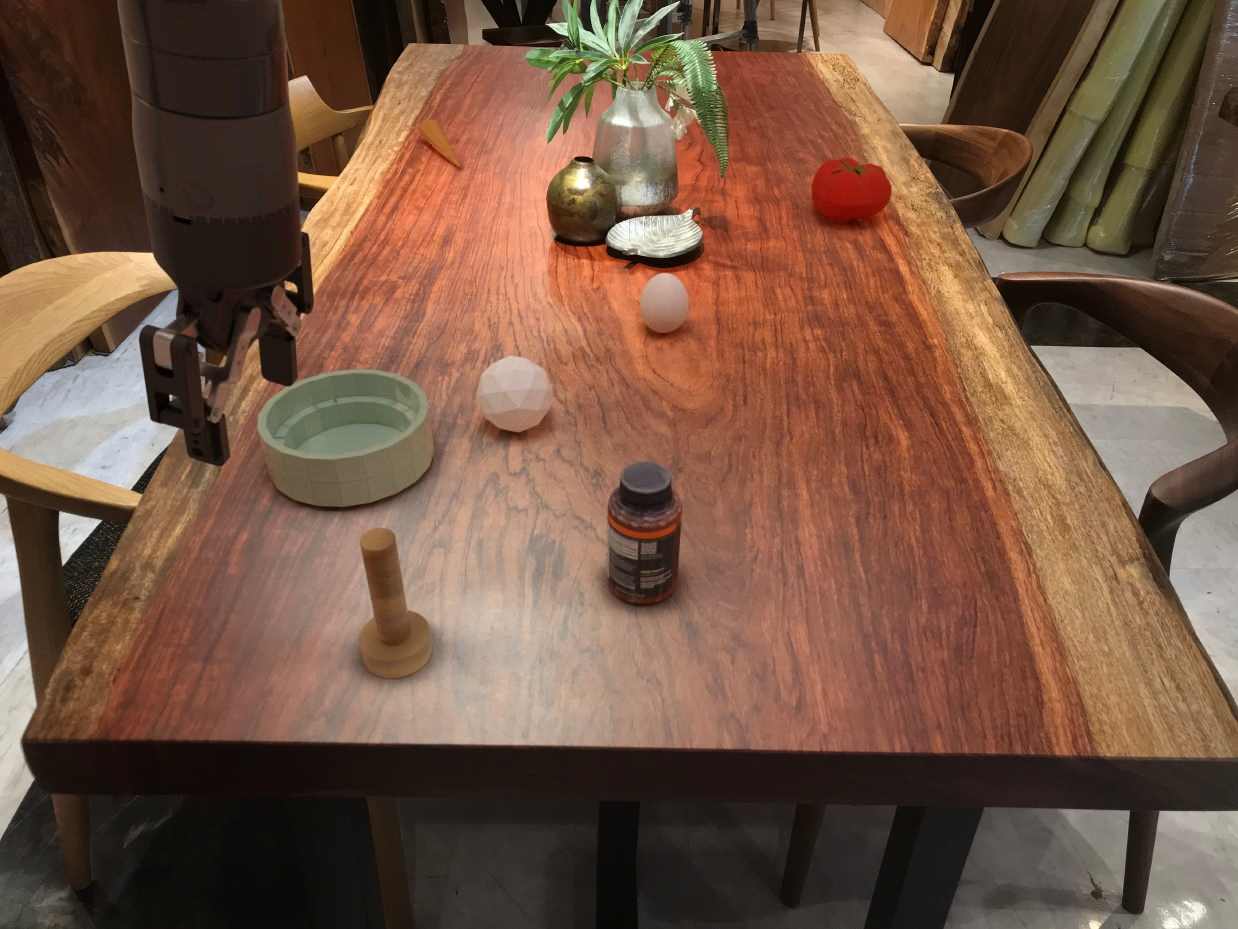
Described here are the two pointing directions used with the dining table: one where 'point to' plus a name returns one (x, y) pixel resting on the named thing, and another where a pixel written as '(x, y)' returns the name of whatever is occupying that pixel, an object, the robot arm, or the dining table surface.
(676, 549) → the supplement bottle
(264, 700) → the dining table surface
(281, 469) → the bowl
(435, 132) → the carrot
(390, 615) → the wooden peg on base
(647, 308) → the egg
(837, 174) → the tomato
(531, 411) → the geometric ball
